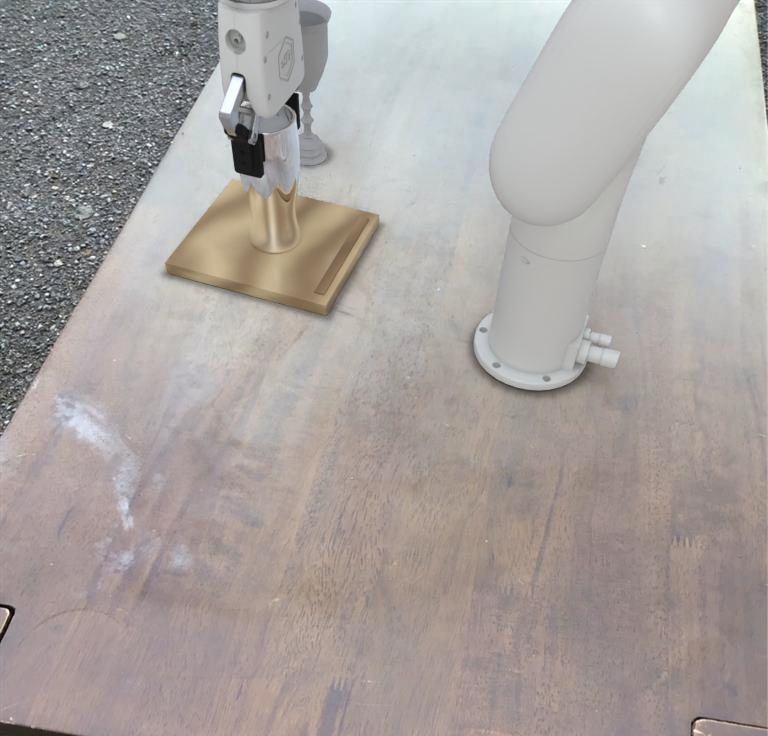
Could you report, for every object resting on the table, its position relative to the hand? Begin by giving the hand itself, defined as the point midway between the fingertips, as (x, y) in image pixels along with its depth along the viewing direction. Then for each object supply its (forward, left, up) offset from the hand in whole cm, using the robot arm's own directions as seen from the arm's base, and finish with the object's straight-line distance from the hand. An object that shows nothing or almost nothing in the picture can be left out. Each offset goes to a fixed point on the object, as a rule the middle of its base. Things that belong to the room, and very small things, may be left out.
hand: (268, 150), depth 88 cm
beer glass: (0, 0, -11) cm, 11 cm away
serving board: (0, 0, -13) cm, 13 cm away
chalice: (+4, -20, -13) cm, 24 cm away
